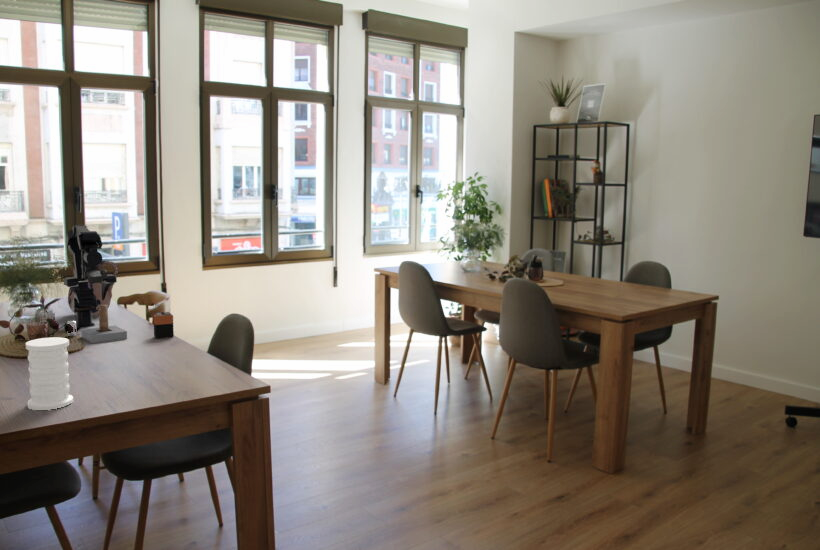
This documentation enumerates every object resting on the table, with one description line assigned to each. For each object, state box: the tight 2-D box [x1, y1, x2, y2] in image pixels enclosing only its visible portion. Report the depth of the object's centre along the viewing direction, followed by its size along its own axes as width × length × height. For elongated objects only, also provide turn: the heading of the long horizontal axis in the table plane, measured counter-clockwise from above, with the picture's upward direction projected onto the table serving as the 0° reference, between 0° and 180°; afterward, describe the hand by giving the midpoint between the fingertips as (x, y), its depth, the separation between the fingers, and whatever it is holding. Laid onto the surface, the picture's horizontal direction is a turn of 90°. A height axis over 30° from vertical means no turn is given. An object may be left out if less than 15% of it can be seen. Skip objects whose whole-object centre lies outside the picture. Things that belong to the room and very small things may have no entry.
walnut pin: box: [98, 305, 109, 332], centre depth 277 cm, size 3×3×13 cm
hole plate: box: [81, 325, 128, 344], centre depth 278 cm, size 13×13×3 cm
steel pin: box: [66, 320, 78, 337], centre depth 279 cm, size 3×3×6 cm
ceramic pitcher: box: [67, 259, 119, 317], centre depth 318 cm, size 18×21×25 cm
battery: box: [153, 311, 175, 340], centre depth 281 cm, size 4×7×10 cm, turn 121°
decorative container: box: [25, 336, 74, 411], centre depth 198 cm, size 12×12×18 cm
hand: (91, 301), depth 284 cm, fingers open, 9 cm apart
